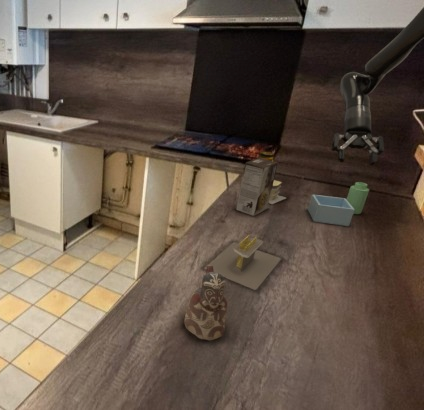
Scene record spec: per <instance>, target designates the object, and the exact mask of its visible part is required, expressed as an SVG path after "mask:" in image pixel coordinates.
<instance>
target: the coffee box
mask: <svg viewBox="0 0 424 410" xmlns="http://www.w3.org/2000/svg"><path fill="white" fill-rule="evenodd" d="M278 164H279V161H274V160H273V161H271V160H268V159H263V158H258V157H257V158H254V159H252V160H249V161H246V162H245V163H244V169H243V173H242V179H241V183H240V189H239V194H238V198H237V203H236V211H239V212H242V213H244V214H247V215H250V216H253V217H255V216H257V215H259V214H261V213H262V212H264V211H265V210H268V207H269V204H270V203H269V199H270V195H271V191H272V186H273V182H274V180H275V178H276V174H277V169H278Z"/></svg>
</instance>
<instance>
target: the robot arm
mask: <svg viewBox="0 0 424 410" xmlns="http://www.w3.org/2000/svg"><path fill="white" fill-rule="evenodd" d="M423 39H424V6H423V7H422V8H421V9H420V11H419V12H418V13H417V14H416V15H415V16H414V18H413V19H412V20H411V21H410V22H409V23H408V24H407V25H406V26H405V27H404V28H403V29H402V30H401V32H400V33H398V35H396V37H394V38H393V39H392V40H391V41H390V42H389V43H388V44H387V45H386V46H385V47H383V48H382V49H381V50H380V51H379V52H377V53H376V54H375V55H374V56H373V57H372V58H371V59H370V60H368V61H367V62H366V64H365V65H364V71H365V73H366V74H367V75H366V74H364V73H363V74H362V73H359V72H356V71H350V72H348V73H346V74H344V75H343V76H342V78H341V80H340V82H339V92H340V95H341V98H342V101H343V103H344V116H343V134H340V133H339V132H336V133H335V134H334V135H333V136H332V141H331V151H332V152H337V160H338V161H339V163H343V162H345V159H346V149H348V147H349V148H350V149H358V150H363V151H364V152H367V154H368V155H369V157H368V158H369V159H368V160H369V166H374V165H375V164H376V163H377V162H378V156H380V155H381V154H383V152H385V143H384V137H383V136H382V135H379V136H373V135H372V113H371V101H370V97H369V95H370V94H371V93H372V92H373V91H374V90H375V88H376V87H377V86H378V85H379V83H380V82H381V81H382V80H383V78H384V77H385V76H386V74H389V72H391V71H392V70H393V69H394V68H396V67H397V66H399V65H400V64H401V63H402V62H403V61H404V60H405V59H406V58H407V57H408V56H409V54H411V52H412V50H413V49H414V48H415V47H416V46H417V45H418V44H419V43H420V42H421V41H423ZM341 140H342V141H343V142H344V143H343V144H342V145H341V146H340V145H339V143H340V141H341Z"/></svg>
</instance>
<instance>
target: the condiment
mask: <svg viewBox="0 0 424 410" xmlns="http://www.w3.org/2000/svg"><path fill="white" fill-rule="evenodd" d="M274 157H275V154H274V152H272V151H259V153H258V155H257V158H263V159H268V160H271V161H274Z"/></svg>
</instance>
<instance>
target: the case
mask: <svg viewBox="0 0 424 410" xmlns="http://www.w3.org/2000/svg"><path fill="white" fill-rule="evenodd" d="M346 199H347V198H345V197H337V196H331V195H321V194H320V195H319V194H311V198H310V201H309V205H308V207H307V211H308V213H309V215H310V217H311V218H312V221H313V222H315V223H323V224H330V225H335V226H337V225H338V226H344V227H350V224H351V221H352V218H353V216H354V214H353V213H354V210H355V209H354V208H353V207H352V206H351V205H350V203H349V202H348V201H347V200H346Z"/></svg>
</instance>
